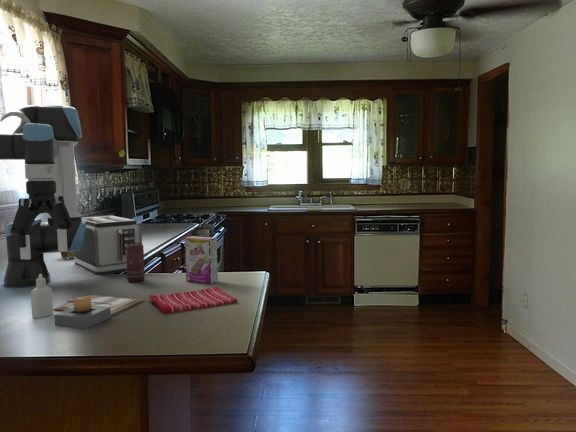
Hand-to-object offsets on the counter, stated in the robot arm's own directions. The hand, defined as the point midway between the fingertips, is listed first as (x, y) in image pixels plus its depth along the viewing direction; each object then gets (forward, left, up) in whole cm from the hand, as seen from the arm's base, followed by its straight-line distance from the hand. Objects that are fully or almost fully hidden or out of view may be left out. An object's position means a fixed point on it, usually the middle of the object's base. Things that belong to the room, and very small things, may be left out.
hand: (45, 255), depth 137 cm
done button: (+14, -2, -14) cm, 20 cm away
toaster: (-29, +62, -18) cm, 71 cm away
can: (-1, +43, -18) cm, 46 cm away
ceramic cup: (-61, +75, -18) cm, 98 cm away
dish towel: (+33, +24, -18) cm, 45 cm away
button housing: (+14, -2, -17) cm, 23 cm away
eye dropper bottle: (-1, -1, -18) cm, 18 cm away
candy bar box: (+23, +48, -18) cm, 57 cm away
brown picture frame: (+8, +11, -17) cm, 22 cm away
